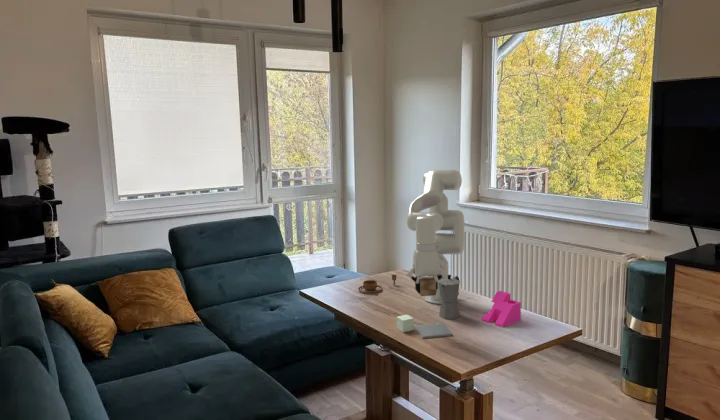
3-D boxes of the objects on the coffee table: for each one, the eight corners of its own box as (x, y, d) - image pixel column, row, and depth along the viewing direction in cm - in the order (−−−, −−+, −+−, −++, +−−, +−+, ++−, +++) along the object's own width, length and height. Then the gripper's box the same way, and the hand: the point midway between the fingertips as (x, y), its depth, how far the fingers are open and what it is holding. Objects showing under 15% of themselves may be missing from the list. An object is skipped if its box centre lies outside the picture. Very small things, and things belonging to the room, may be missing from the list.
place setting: (358, 286, 271) (357, 275, 271) (396, 285, 272) (396, 274, 271) (358, 297, 254) (358, 285, 253) (399, 295, 254) (399, 283, 253)
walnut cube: (431, 290, 210) (431, 276, 209) (436, 295, 204) (435, 280, 203) (417, 291, 209) (417, 277, 208) (421, 296, 203) (420, 281, 203)
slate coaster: (442, 324, 214) (442, 322, 214) (452, 335, 202) (452, 333, 202) (414, 327, 212) (414, 325, 212) (422, 338, 200) (422, 336, 200)
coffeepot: (452, 322, 216) (452, 280, 213) (432, 318, 222) (431, 277, 219) (468, 311, 228) (468, 271, 226) (448, 307, 234) (448, 268, 231)
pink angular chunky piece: (500, 313, 224) (500, 290, 222) (520, 320, 216) (520, 296, 214) (481, 320, 217) (481, 296, 215) (502, 327, 209) (502, 303, 207)
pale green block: (407, 326, 214) (407, 314, 213) (413, 330, 209) (413, 318, 209) (396, 328, 212) (396, 316, 211) (402, 332, 207) (402, 320, 206)
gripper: (444, 244, 209) (444, 287, 211) (402, 246, 207) (403, 290, 209) (450, 247, 201) (450, 293, 204) (406, 250, 199) (407, 296, 202)
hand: (426, 291), depth 207 cm, fingers closed on walnut cube, 6 cm apart
